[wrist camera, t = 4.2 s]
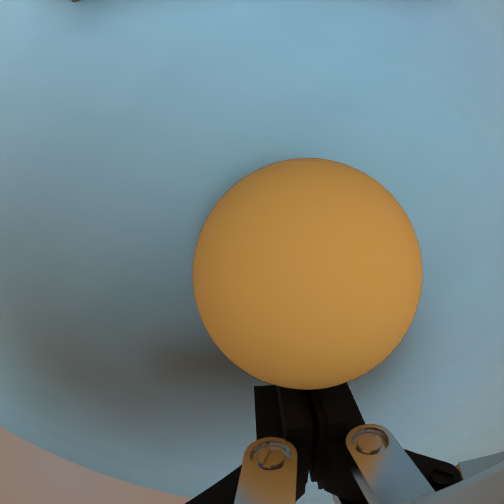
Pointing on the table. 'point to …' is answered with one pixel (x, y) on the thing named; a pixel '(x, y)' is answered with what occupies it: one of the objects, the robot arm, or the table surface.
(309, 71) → the table surface
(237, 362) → the ball
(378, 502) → the robot arm
